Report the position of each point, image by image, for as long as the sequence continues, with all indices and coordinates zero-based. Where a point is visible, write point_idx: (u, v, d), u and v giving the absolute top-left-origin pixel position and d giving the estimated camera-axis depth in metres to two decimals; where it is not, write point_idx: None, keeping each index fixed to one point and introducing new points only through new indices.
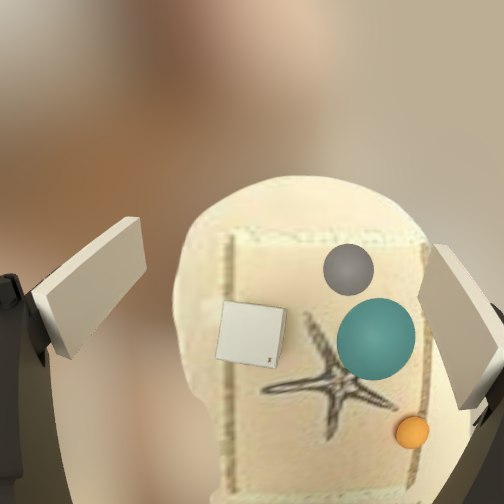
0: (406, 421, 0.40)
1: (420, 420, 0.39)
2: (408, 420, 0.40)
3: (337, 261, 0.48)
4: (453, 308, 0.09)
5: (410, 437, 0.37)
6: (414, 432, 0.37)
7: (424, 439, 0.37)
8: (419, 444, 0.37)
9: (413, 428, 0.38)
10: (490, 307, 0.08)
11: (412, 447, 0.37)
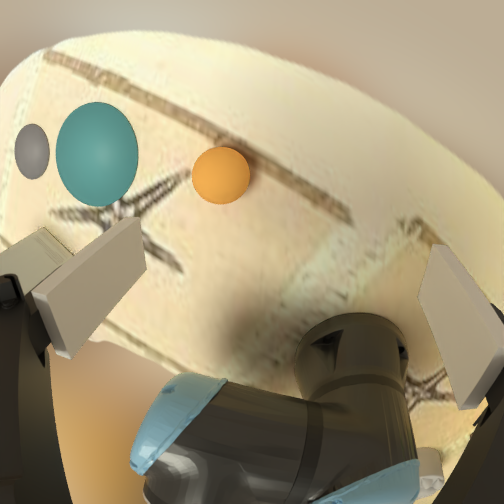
0: None
1: (199, 158, 0.28)
2: None
3: (22, 159, 0.35)
4: (453, 308, 0.09)
5: (204, 190, 0.28)
6: (199, 181, 0.28)
7: (225, 171, 0.27)
8: (229, 182, 0.27)
9: (195, 178, 0.28)
10: (490, 307, 0.08)
11: (230, 194, 0.28)
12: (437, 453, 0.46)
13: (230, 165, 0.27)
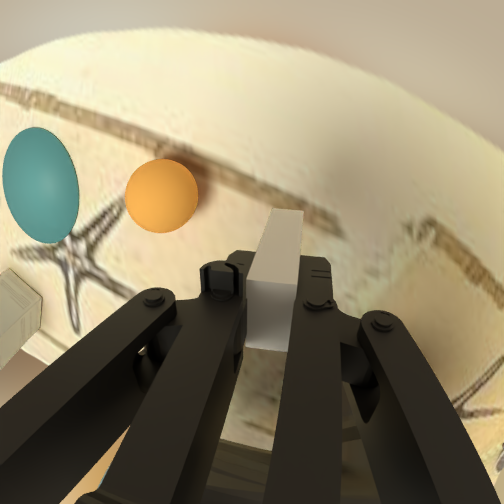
0: None
1: (130, 178, 0.22)
2: None
3: None
4: None
5: (138, 219, 0.21)
6: (130, 208, 0.21)
7: (158, 191, 0.20)
8: (165, 206, 0.20)
9: (127, 205, 0.21)
10: (297, 254, 0.11)
11: (170, 220, 0.21)
12: None
13: (164, 183, 0.20)
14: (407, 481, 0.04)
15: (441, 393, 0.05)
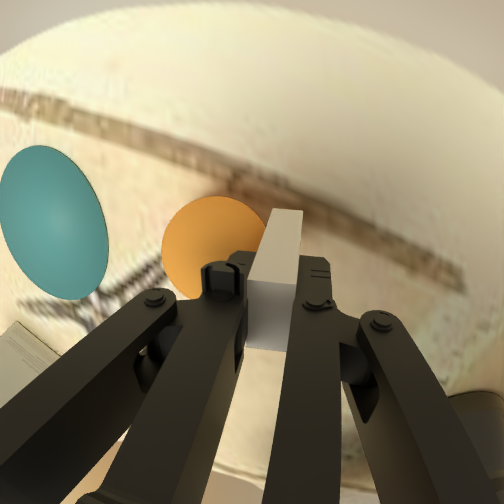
0: None
1: None
2: None
3: None
4: None
5: None
6: (163, 264, 0.15)
7: (193, 251, 0.14)
8: None
9: (162, 258, 0.16)
10: (296, 254, 0.11)
11: None
12: None
13: (203, 239, 0.13)
14: (406, 481, 0.04)
15: (440, 393, 0.05)
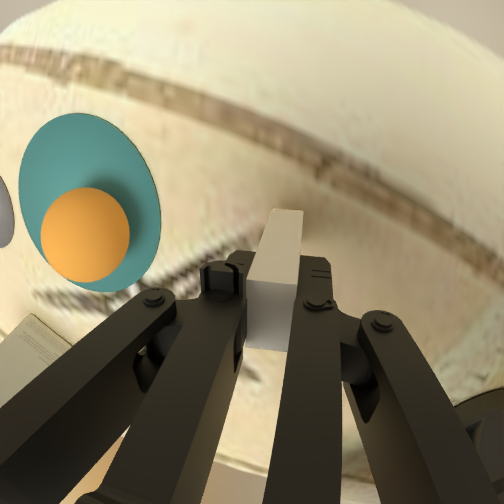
0: (57, 262, 0.14)
1: (64, 220, 0.14)
2: (56, 256, 0.14)
3: None
4: None
5: (112, 255, 0.16)
6: (101, 246, 0.15)
7: (119, 208, 0.17)
8: (127, 222, 0.17)
9: (90, 249, 0.15)
10: (297, 254, 0.11)
11: None
12: None
13: (114, 199, 0.17)
14: (407, 481, 0.04)
15: (441, 392, 0.05)
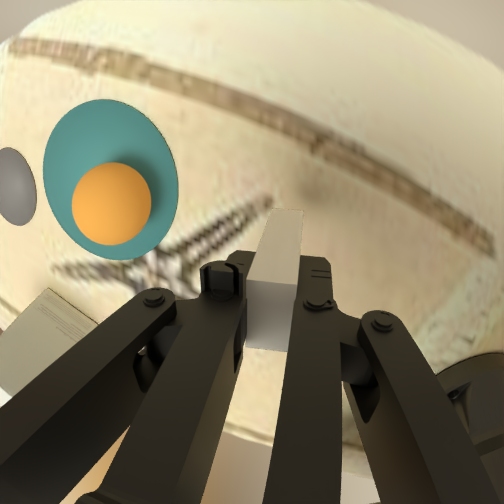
0: (89, 225, 0.17)
1: (97, 188, 0.17)
2: (88, 220, 0.17)
3: (2, 199, 0.24)
4: None
5: (137, 218, 0.19)
6: (129, 210, 0.18)
7: (143, 180, 0.19)
8: (149, 192, 0.20)
9: (119, 212, 0.17)
10: (297, 254, 0.11)
11: None
12: None
13: None
14: (407, 481, 0.04)
15: (441, 392, 0.05)
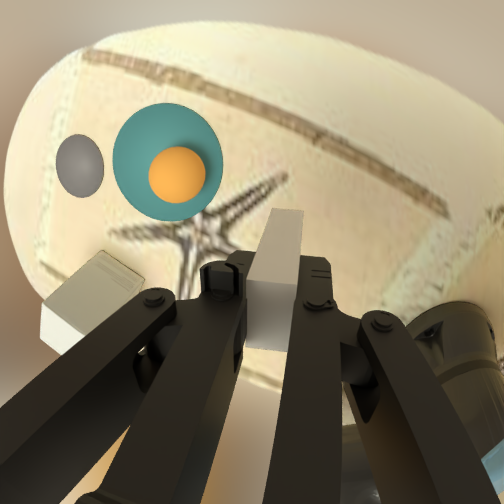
0: (165, 185, 0.27)
1: (173, 161, 0.27)
2: (165, 182, 0.27)
3: (68, 176, 0.34)
4: None
5: (198, 183, 0.29)
6: (194, 177, 0.28)
7: (200, 159, 0.29)
8: None
9: (188, 178, 0.27)
10: (297, 254, 0.11)
11: None
12: None
13: None
14: (407, 481, 0.04)
15: (441, 392, 0.05)
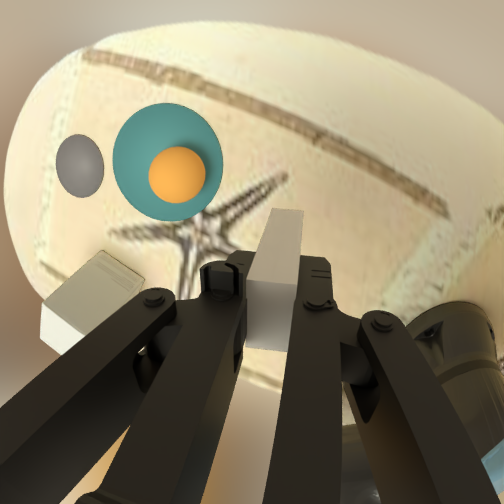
0: (165, 185, 0.27)
1: (173, 161, 0.27)
2: (165, 182, 0.27)
3: (68, 176, 0.34)
4: None
5: (198, 183, 0.29)
6: (194, 177, 0.28)
7: (200, 159, 0.29)
8: None
9: (188, 178, 0.27)
10: (297, 254, 0.11)
11: None
12: None
13: None
14: (407, 481, 0.04)
15: (441, 392, 0.05)
